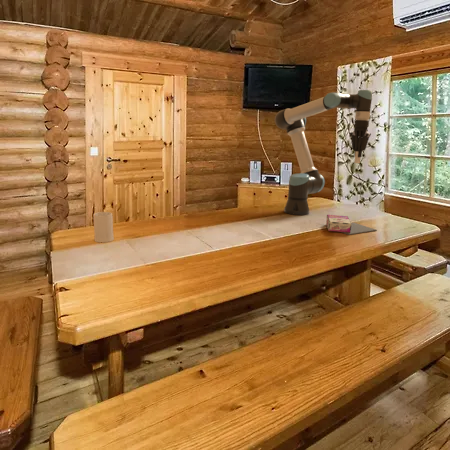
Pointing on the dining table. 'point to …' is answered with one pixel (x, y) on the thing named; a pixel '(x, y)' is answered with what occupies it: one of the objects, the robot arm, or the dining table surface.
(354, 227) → the rubber mat
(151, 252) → the dining table surface
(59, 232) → the dining table surface
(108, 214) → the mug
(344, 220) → the candy bar box
